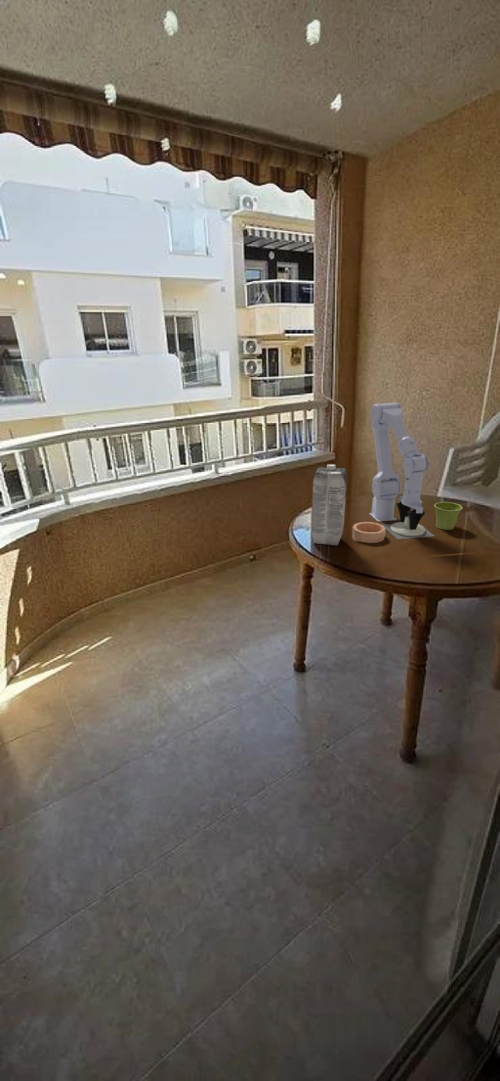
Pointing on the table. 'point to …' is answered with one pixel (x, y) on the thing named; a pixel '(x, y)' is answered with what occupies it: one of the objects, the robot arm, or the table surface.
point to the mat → (426, 534)
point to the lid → (407, 529)
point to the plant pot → (446, 514)
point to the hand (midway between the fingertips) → (408, 525)
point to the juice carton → (328, 505)
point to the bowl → (368, 532)
